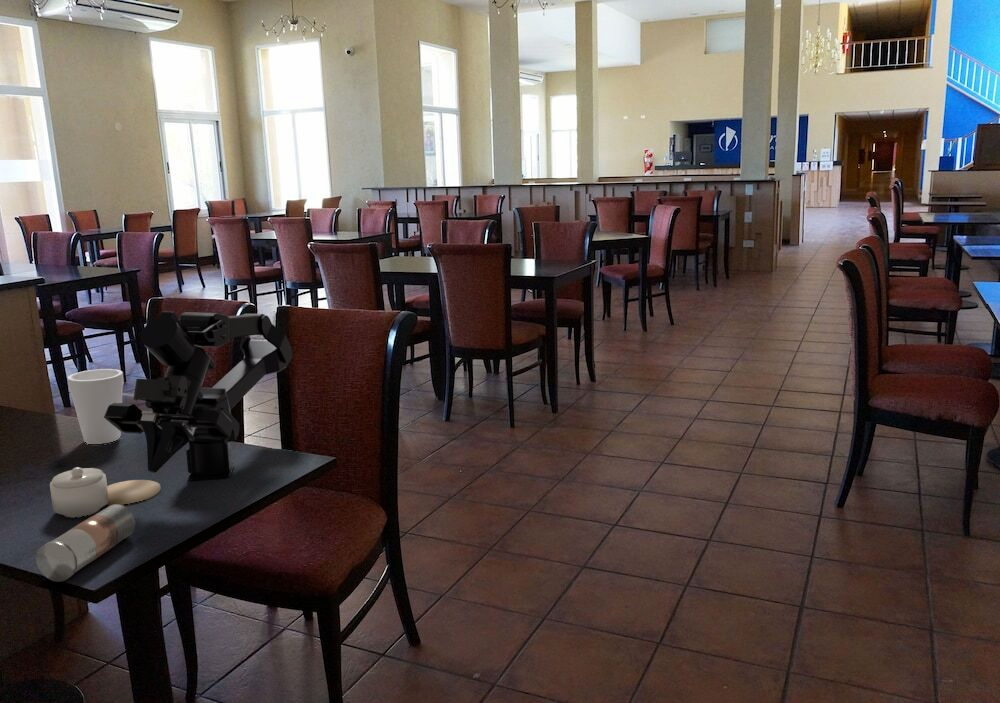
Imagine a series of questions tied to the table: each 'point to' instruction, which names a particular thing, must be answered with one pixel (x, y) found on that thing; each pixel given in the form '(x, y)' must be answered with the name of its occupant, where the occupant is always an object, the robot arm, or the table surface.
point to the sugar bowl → (79, 492)
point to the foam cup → (96, 402)
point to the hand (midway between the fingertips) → (151, 471)
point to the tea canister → (84, 542)
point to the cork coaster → (132, 491)
